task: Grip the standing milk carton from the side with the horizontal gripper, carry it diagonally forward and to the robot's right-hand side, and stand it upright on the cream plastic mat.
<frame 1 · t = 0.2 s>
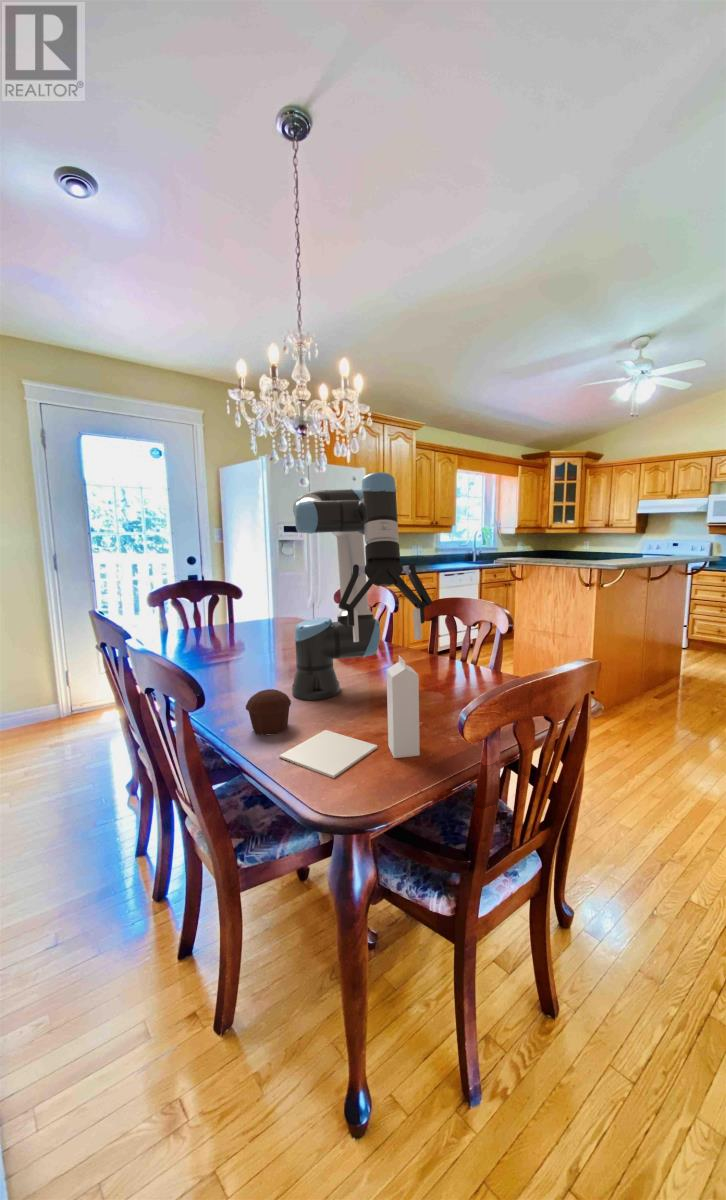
hand: (387, 640, 98), 27 cm above the table, tool tilted 15°, fingers open, 13 cm apart
milk: (403, 751, 106), on the table
muffin: (270, 728, 121), on the table
mat: (329, 752, 106), on the table
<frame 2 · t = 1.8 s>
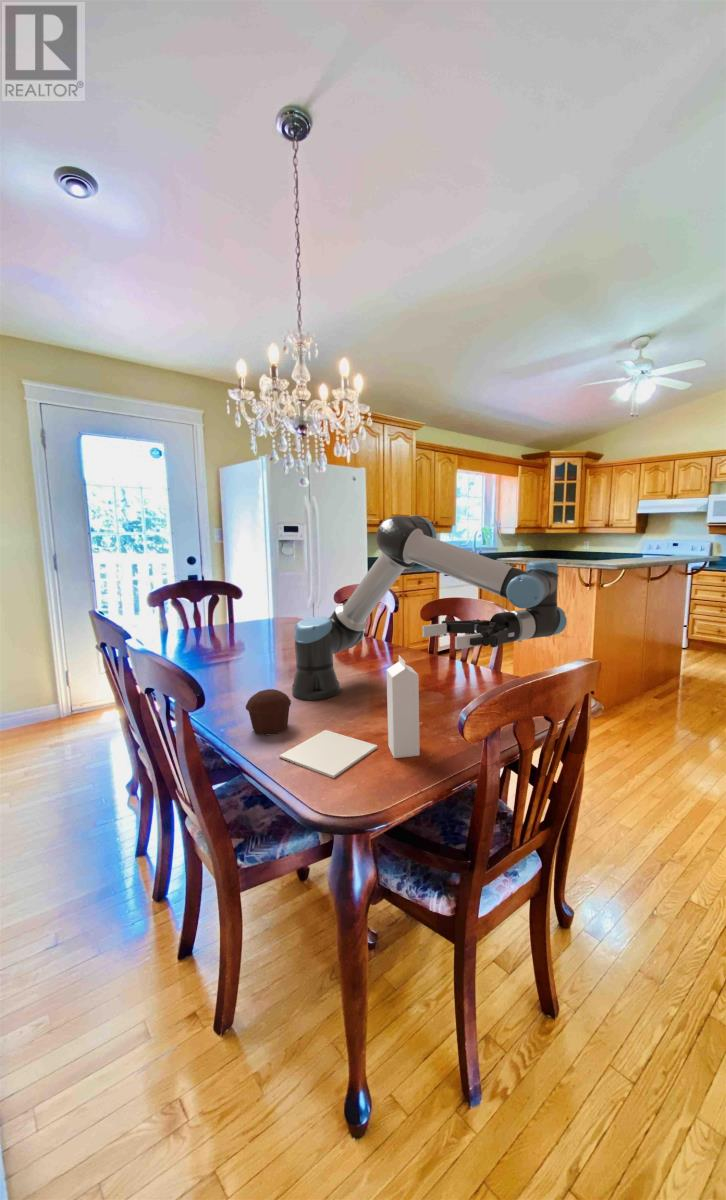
hand: (438, 637, 106), 26 cm above the table, tool horizontal, fingers open, 13 cm apart
nothing on the table moved.
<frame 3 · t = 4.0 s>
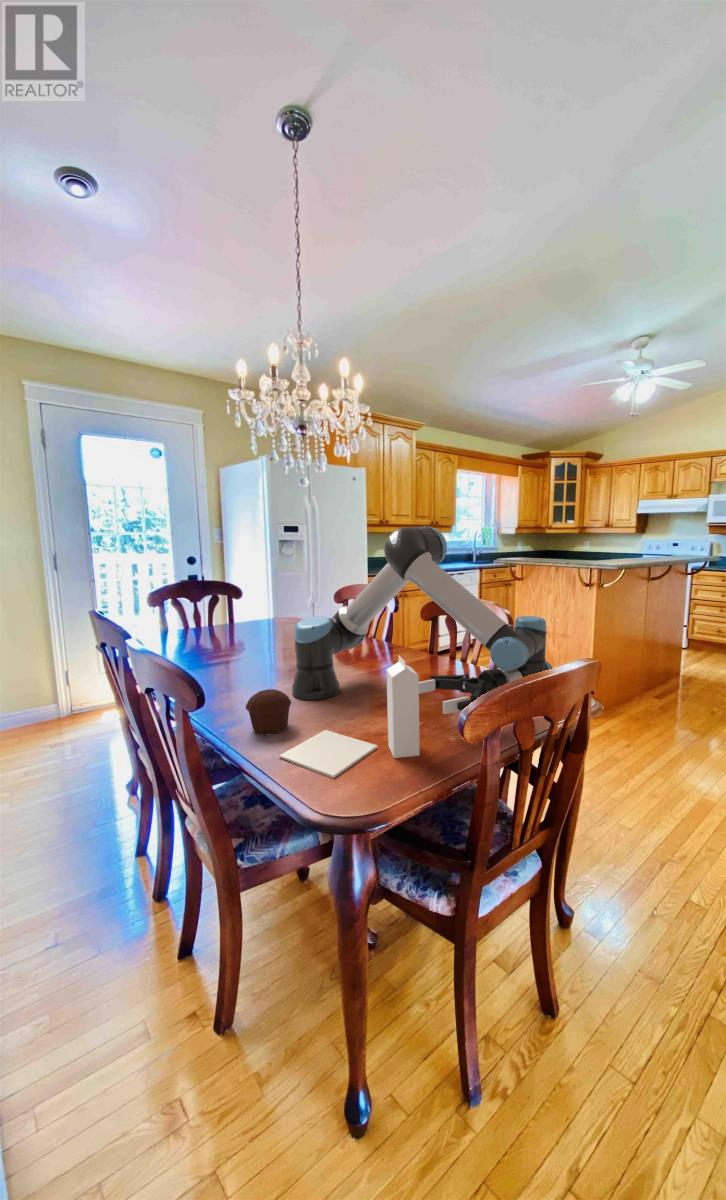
hand: (426, 698, 106), 12 cm above the table, tool horizontal, fingers open, 13 cm apart
nothing on the table moved.
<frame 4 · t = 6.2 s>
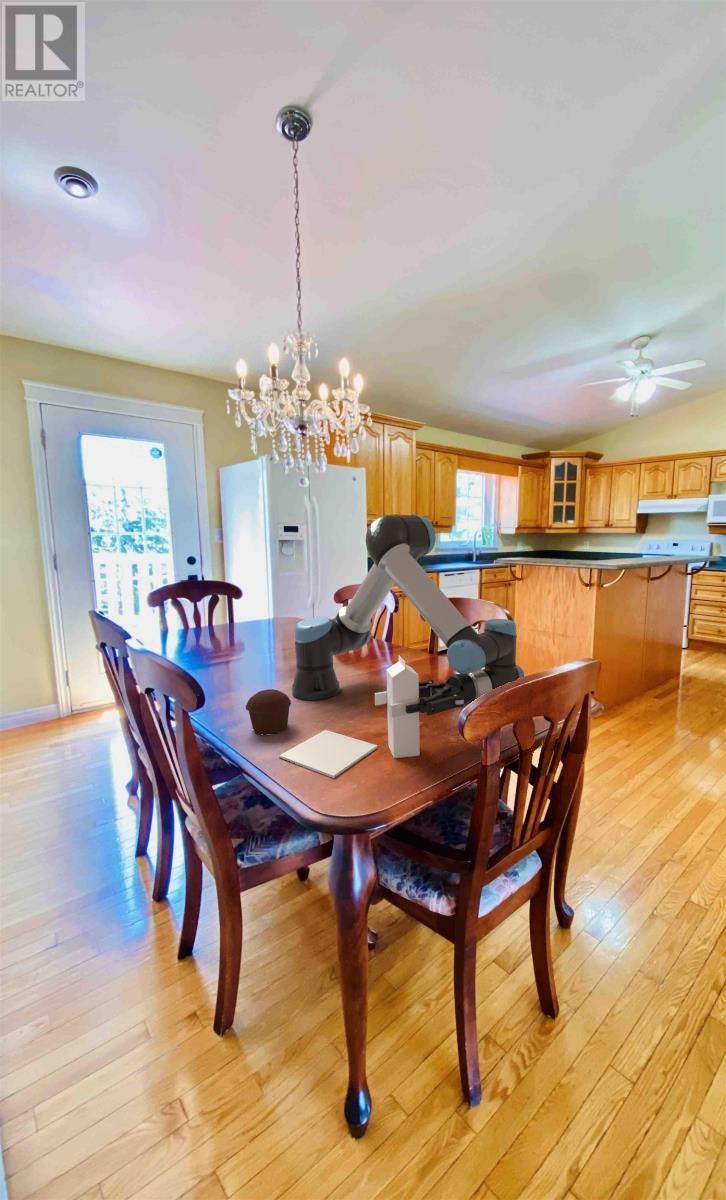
hand: (383, 705, 102), 12 cm above the table, tool horizontal, fingers closed on milk, 7 cm apart
milk: (403, 751, 106), on the table, touching gripper
everything else where it was.
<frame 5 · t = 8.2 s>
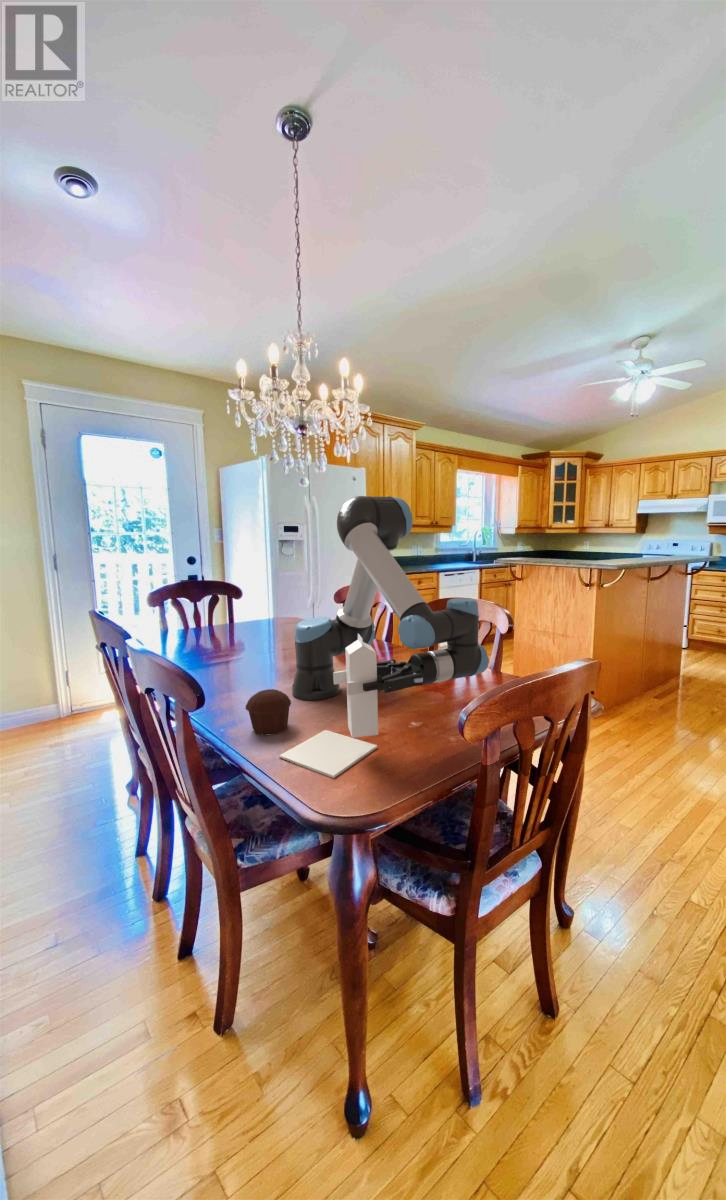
hand: (340, 683, 100), 18 cm above the table, tool horizontal, fingers closed on milk, 7 cm apart
milk: (362, 731, 104), point 5 cm above the table, touching gripper
everything else where it was.
when the fingers open (14 cm above the table, at t = 10.1 s): milk drops 1 cm, resting on mat.
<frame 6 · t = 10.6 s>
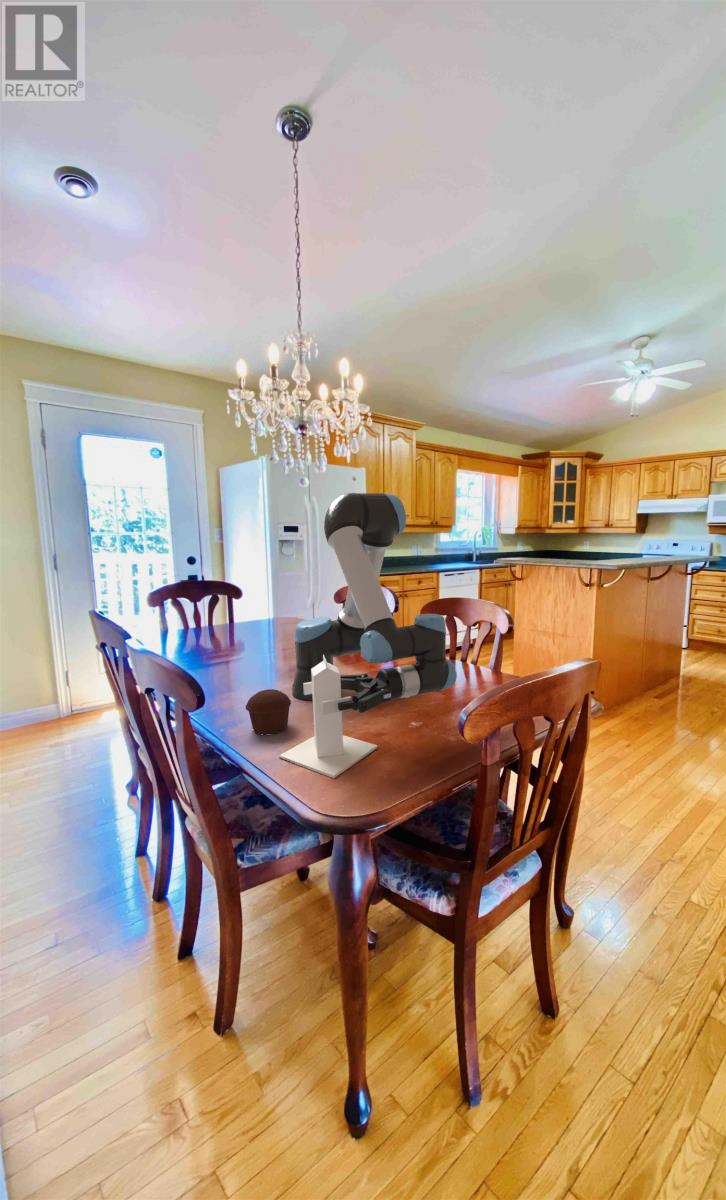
hand: (312, 698, 103), 14 cm above the table, tool horizontal, fingers open, 13 cm apart
milk: (329, 750, 106), resting on mat
everything else where it was.
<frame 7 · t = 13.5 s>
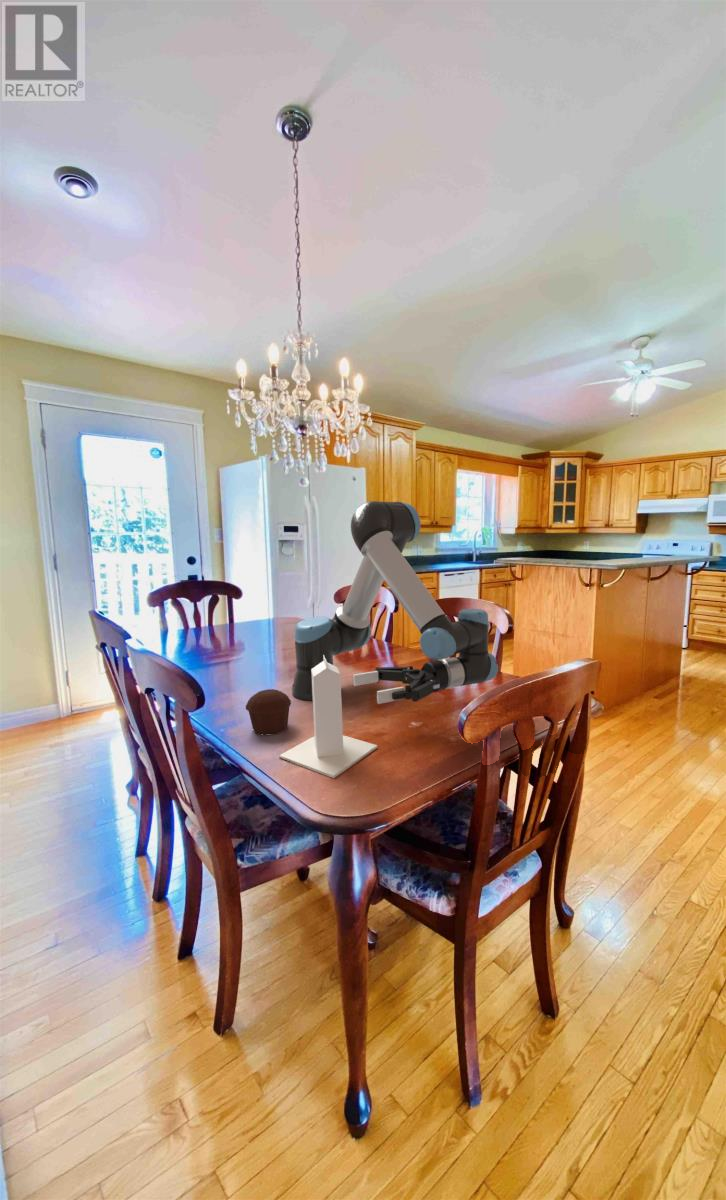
hand: (365, 688, 108), 14 cm above the table, tool horizontal, fingers open, 13 cm apart
nothing on the table moved.
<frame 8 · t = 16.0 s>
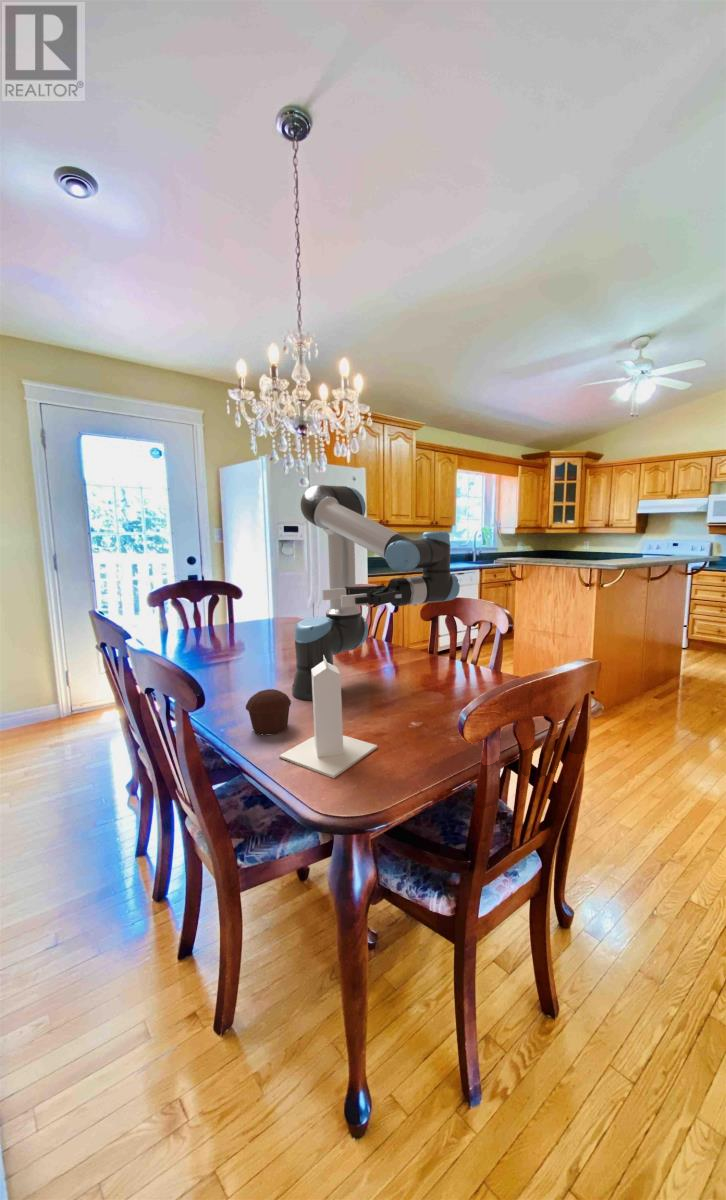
hand: (331, 598, 115), 34 cm above the table, tool horizontal, fingers open, 13 cm apart
nothing on the table moved.
at the end: milk inside the target area on the mat (0.0 cm from its centre), point 0.4 cm above the mat's base; milk tilted 0°; the gripper is holding nothing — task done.
